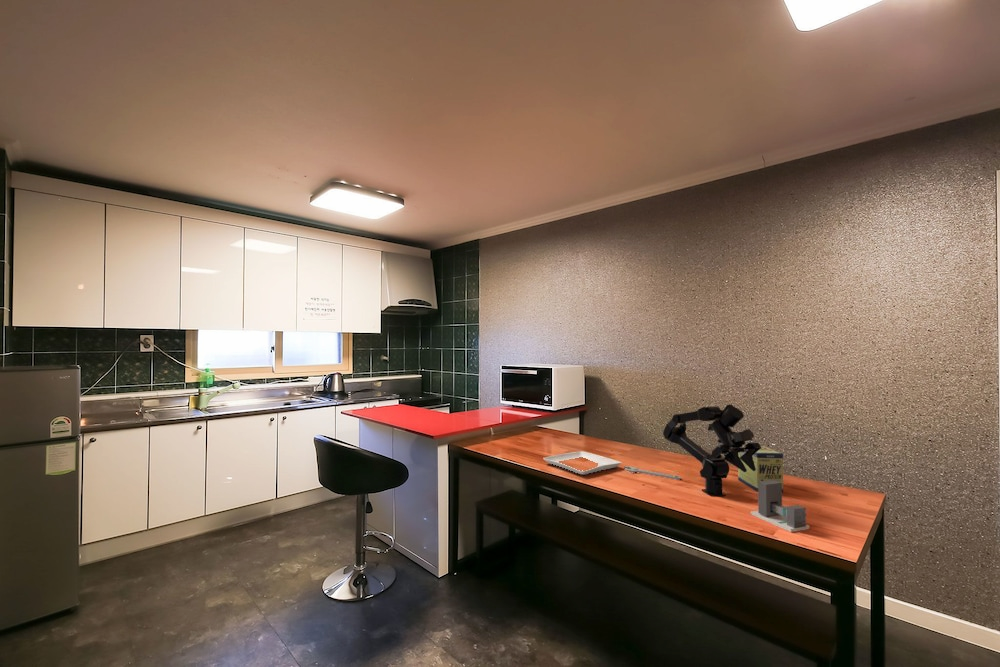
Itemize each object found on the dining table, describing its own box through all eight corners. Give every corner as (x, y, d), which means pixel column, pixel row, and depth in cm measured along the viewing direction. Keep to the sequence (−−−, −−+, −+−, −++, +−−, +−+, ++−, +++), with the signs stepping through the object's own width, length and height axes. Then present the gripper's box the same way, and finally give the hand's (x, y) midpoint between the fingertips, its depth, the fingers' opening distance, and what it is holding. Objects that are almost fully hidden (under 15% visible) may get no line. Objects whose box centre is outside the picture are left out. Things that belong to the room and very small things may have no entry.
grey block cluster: (755, 511, 145) (755, 494, 146) (766, 509, 147) (766, 492, 147) (794, 528, 132) (794, 509, 132) (805, 526, 134) (805, 507, 134)
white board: (750, 514, 145) (750, 511, 145) (768, 511, 148) (768, 508, 148) (790, 532, 132) (790, 528, 132) (809, 529, 134) (809, 525, 134)
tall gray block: (758, 513, 143) (758, 481, 143) (773, 510, 145) (773, 480, 146) (766, 516, 140) (766, 484, 141) (782, 514, 142) (781, 482, 143)
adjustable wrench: (681, 480, 184) (681, 476, 184) (677, 484, 179) (677, 479, 179) (626, 468, 200) (626, 465, 200) (621, 472, 195) (621, 468, 195)
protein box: (757, 492, 168) (757, 453, 168) (737, 479, 183) (737, 444, 184) (784, 492, 167) (783, 453, 168) (761, 480, 183) (761, 444, 183)
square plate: (622, 469, 199) (622, 461, 199) (582, 479, 183) (582, 470, 183) (581, 456, 221) (581, 449, 221) (542, 464, 205) (542, 456, 205)
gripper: (717, 423, 153) (743, 461, 142) (756, 420, 159) (784, 457, 148) (701, 440, 161) (724, 477, 150) (739, 437, 166) (764, 473, 155)
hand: (750, 471), depth 150 cm, fingers open, 4 cm apart
